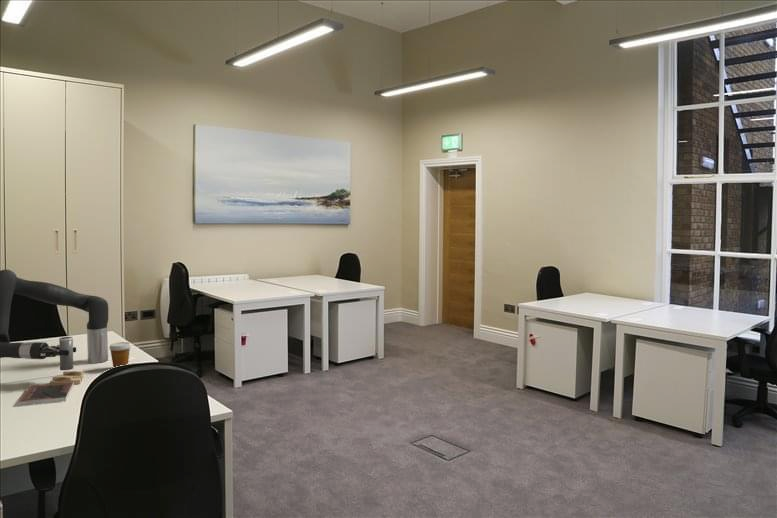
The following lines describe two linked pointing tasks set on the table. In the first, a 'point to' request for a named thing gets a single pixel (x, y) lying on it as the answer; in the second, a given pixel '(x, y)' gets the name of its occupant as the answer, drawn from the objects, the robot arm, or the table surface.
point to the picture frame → (46, 393)
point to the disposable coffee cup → (120, 353)
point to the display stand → (68, 377)
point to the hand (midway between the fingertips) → (72, 351)
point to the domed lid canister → (67, 361)
